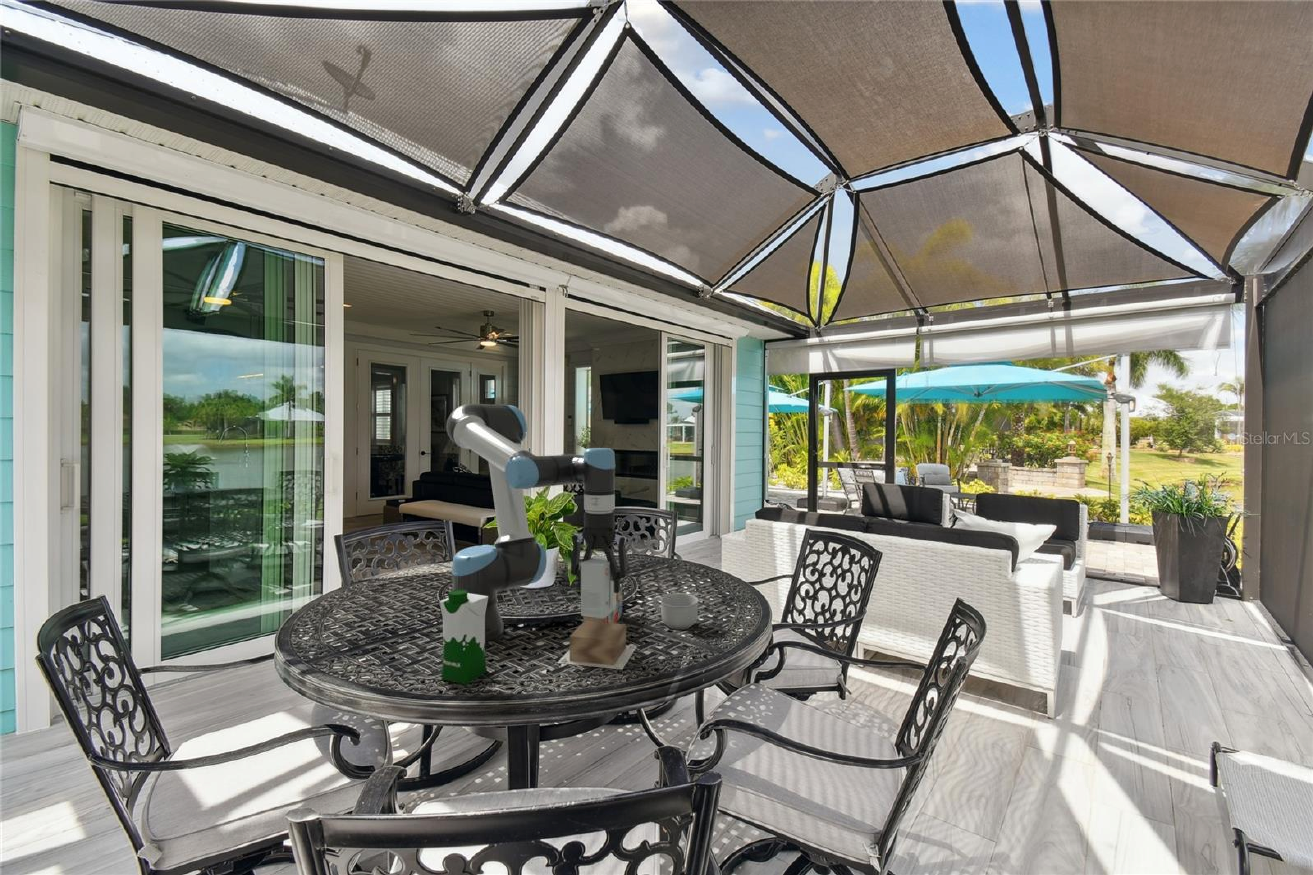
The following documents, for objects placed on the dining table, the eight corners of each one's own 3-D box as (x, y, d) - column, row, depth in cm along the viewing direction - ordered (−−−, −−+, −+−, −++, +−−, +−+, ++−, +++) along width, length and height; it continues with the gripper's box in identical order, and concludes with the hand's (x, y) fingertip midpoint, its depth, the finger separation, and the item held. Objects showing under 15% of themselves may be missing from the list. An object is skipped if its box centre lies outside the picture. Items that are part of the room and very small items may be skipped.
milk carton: (435, 680, 132) (435, 592, 131) (463, 664, 140) (463, 582, 139) (466, 687, 128) (465, 597, 128) (493, 671, 137) (493, 586, 136)
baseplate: (557, 667, 139) (557, 660, 139) (577, 645, 153) (577, 638, 153) (622, 674, 136) (622, 666, 136) (636, 651, 149) (636, 644, 149)
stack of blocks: (602, 613, 179) (602, 573, 178) (622, 614, 178) (622, 574, 177) (582, 639, 158) (583, 593, 157) (605, 640, 157) (605, 595, 156)
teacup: (705, 626, 168) (705, 598, 168) (681, 636, 160) (681, 607, 160) (668, 614, 177) (669, 588, 177) (644, 624, 169) (644, 596, 169)
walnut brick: (569, 661, 140) (569, 636, 140) (584, 643, 151) (584, 620, 150) (613, 665, 138) (613, 640, 137) (626, 647, 148) (626, 624, 148)
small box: (593, 606, 148) (593, 555, 148) (616, 608, 147) (617, 557, 146) (579, 616, 141) (580, 562, 140) (604, 619, 139) (604, 564, 138)
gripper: (556, 512, 141) (556, 606, 142) (634, 515, 137) (633, 612, 138) (567, 507, 149) (567, 597, 149) (641, 510, 145) (641, 602, 145)
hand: (599, 604), depth 144 cm, fingers closed on small box, 7 cm apart
